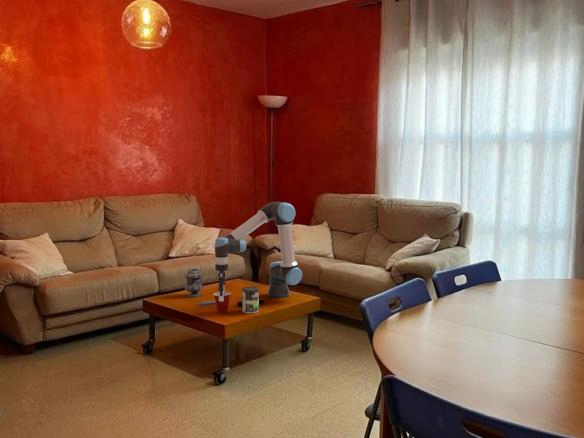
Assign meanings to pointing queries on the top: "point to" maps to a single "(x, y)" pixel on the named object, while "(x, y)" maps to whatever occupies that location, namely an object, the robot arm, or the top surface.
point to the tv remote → (207, 303)
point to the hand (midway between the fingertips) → (221, 298)
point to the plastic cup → (222, 302)
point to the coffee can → (250, 299)
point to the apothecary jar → (193, 282)
